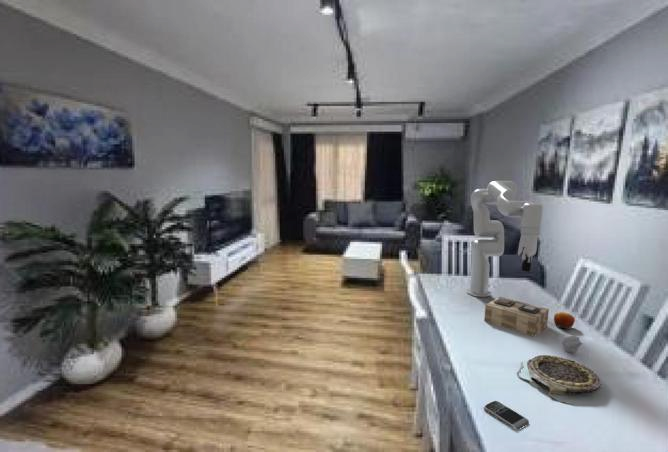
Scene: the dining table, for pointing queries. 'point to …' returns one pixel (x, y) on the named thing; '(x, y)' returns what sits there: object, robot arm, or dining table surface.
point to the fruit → (564, 320)
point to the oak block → (516, 316)
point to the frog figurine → (571, 343)
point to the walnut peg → (504, 301)
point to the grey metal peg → (529, 308)
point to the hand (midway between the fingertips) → (525, 270)
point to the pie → (561, 375)
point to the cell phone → (506, 415)
